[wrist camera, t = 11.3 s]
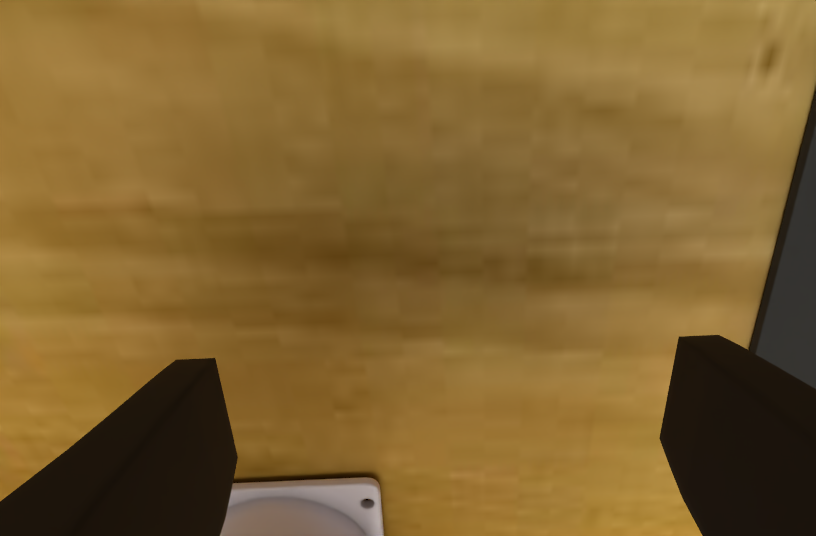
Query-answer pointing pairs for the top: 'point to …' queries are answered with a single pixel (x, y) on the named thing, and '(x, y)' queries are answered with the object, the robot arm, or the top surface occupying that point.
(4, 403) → the top surface
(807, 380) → the mat
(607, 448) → the top surface
